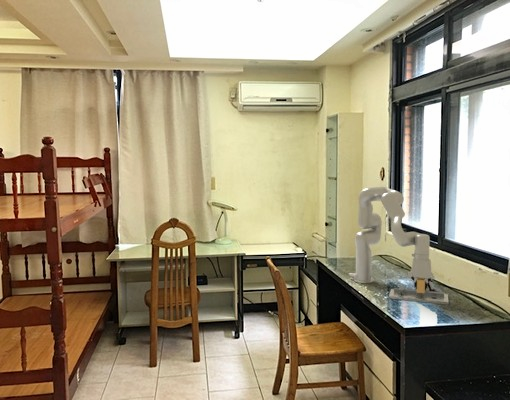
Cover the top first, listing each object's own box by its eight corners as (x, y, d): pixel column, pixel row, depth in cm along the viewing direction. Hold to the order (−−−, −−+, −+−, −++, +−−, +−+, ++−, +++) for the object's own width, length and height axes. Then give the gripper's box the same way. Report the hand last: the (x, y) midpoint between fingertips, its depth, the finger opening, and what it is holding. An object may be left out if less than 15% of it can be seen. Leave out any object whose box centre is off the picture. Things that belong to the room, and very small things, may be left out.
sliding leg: (416, 296, 238) (417, 280, 237) (417, 292, 244) (417, 276, 244) (424, 296, 236) (424, 280, 235) (424, 292, 243) (425, 277, 242)
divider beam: (393, 294, 242) (393, 289, 242) (394, 290, 249) (394, 285, 249) (444, 299, 232) (444, 294, 232) (443, 295, 239) (444, 290, 239)
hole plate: (388, 298, 239) (389, 295, 239) (391, 291, 252) (391, 288, 252) (448, 304, 228) (448, 302, 228) (447, 296, 241) (447, 294, 241)
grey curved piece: (436, 290, 252) (430, 275, 251) (428, 293, 252) (423, 277, 251) (424, 282, 268) (419, 267, 267) (417, 285, 268) (412, 270, 267)
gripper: (405, 256, 238) (404, 289, 240) (438, 259, 232) (437, 292, 234) (405, 254, 245) (405, 285, 247) (438, 256, 239) (437, 288, 240)
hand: (420, 288), depth 240 cm, fingers closed on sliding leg, 4 cm apart
